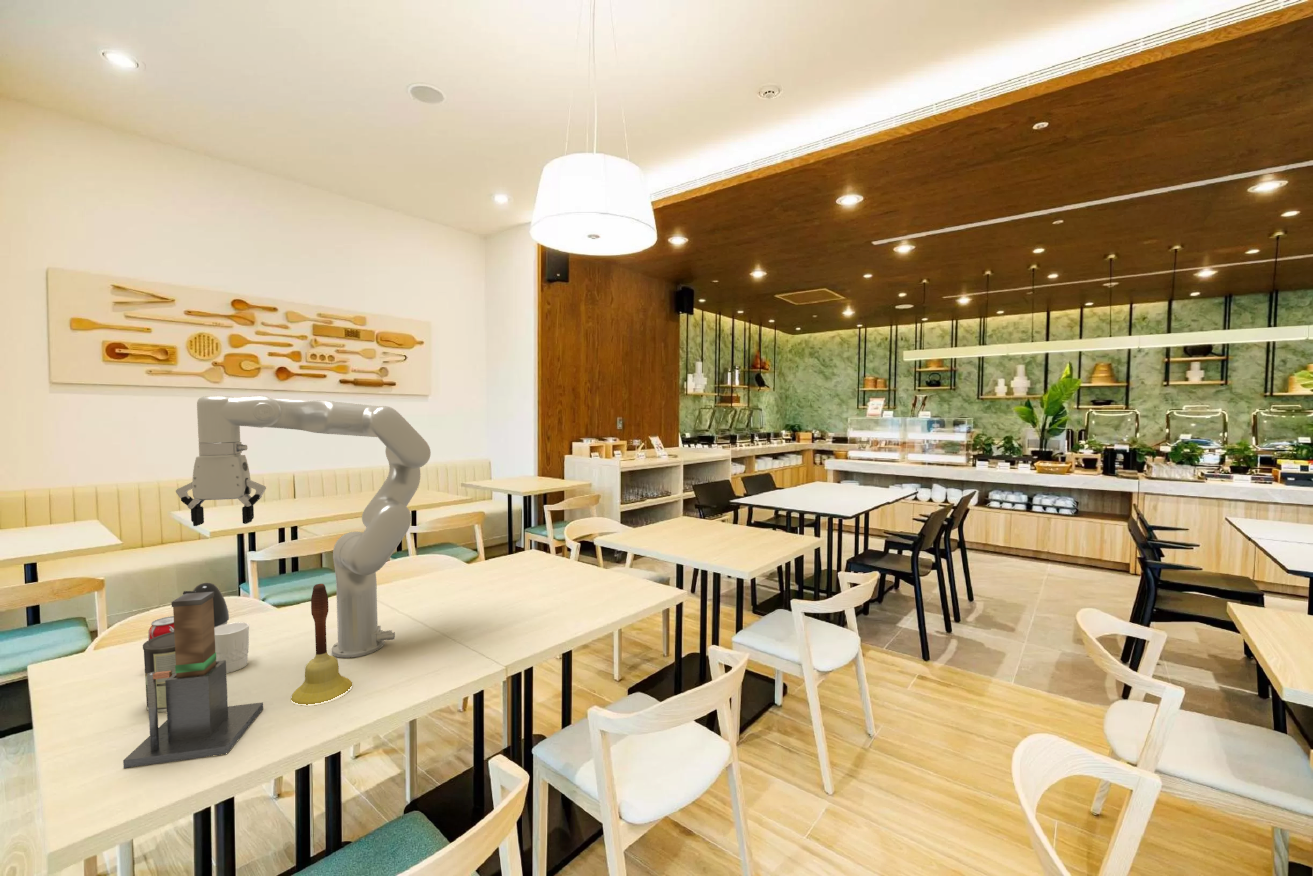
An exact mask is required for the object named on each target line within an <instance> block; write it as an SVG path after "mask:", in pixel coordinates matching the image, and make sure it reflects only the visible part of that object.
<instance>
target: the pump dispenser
mask: <svg viewBox="0 0 1313 876" xmlns="http://www.w3.org/2000/svg"><path fill="white" fill-rule="evenodd" d="M201 592H214V597H213V608H214V628H216V627H218V626H221V625H225V624H228V621H229V619H230V614H229V609H228V605H227V603H226V599H225V598H224V595H223V593H222V592H221V590H220V589H219V587H218V586H217V585H216V584H214V583H212V582H202V583H199V584H197V585H196V586H195V587H194V588H193V589H192V590H184V591H183V592H182V595H184V594H187V593H201Z"/></svg>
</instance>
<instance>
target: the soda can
mask: <svg viewBox="0 0 1313 876" xmlns="http://www.w3.org/2000/svg"><path fill="white" fill-rule="evenodd" d="M170 632H174V615H172V616H165V617H161V618H158V619H155V620H153V621H152V622H151V623H150V628H149V629H148V637H147V638H148V640H150V639H152V638H154V637H157V636H160V635H163V634H167V633H170ZM148 640H147V641H148Z"/></svg>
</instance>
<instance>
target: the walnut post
mask: <svg viewBox="0 0 1313 876" xmlns="http://www.w3.org/2000/svg"><path fill="white" fill-rule="evenodd" d="M213 597H214V592H201V593H187V594H184V595H183V594H182V595H181V596H179V597H177V598H176V599H173V600H172V601H171V608H172V609H173V610H172V612H173V614H172V615H173V616H174V635H175V656H176V665H175V670H176V677H177V678H178V677H187V676H197V675H205V674H207V673H208V672H209V671H210V670H211V669H212V668H213V667H215V666H216V652H215V631H214V608H213Z"/></svg>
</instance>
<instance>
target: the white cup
mask: <svg viewBox="0 0 1313 876" xmlns="http://www.w3.org/2000/svg"><path fill="white" fill-rule="evenodd" d="M214 631H215V652H216V661H222V660H226V674H228V673H232V672H235V671H239V670H241V669H243V668H245V667H246V666H247V665H248V661H249V660H248V658H249V655H248V654H249V647H250V646H249V645H250V643H249V642H250V641H249V640H250V624H249V623H248V622H243V621H240V622H239V621H238V622H231V623H227V624H225V625H221V626H218V627H216V628H214Z"/></svg>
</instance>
